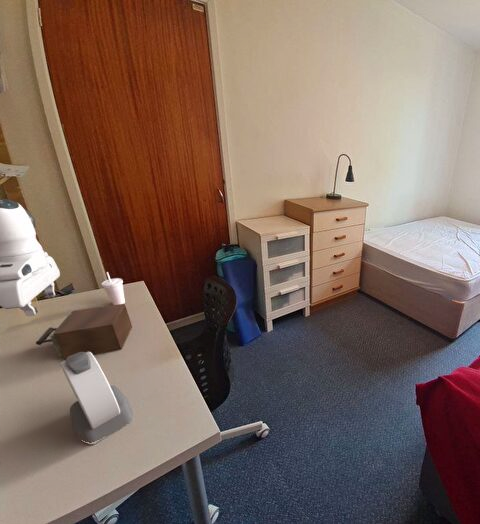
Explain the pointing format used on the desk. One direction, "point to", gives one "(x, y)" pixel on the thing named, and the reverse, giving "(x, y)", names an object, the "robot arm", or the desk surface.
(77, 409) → the headphone stand
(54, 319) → the desk surface
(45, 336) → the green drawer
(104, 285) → the smoothie
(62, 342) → the cabinet
